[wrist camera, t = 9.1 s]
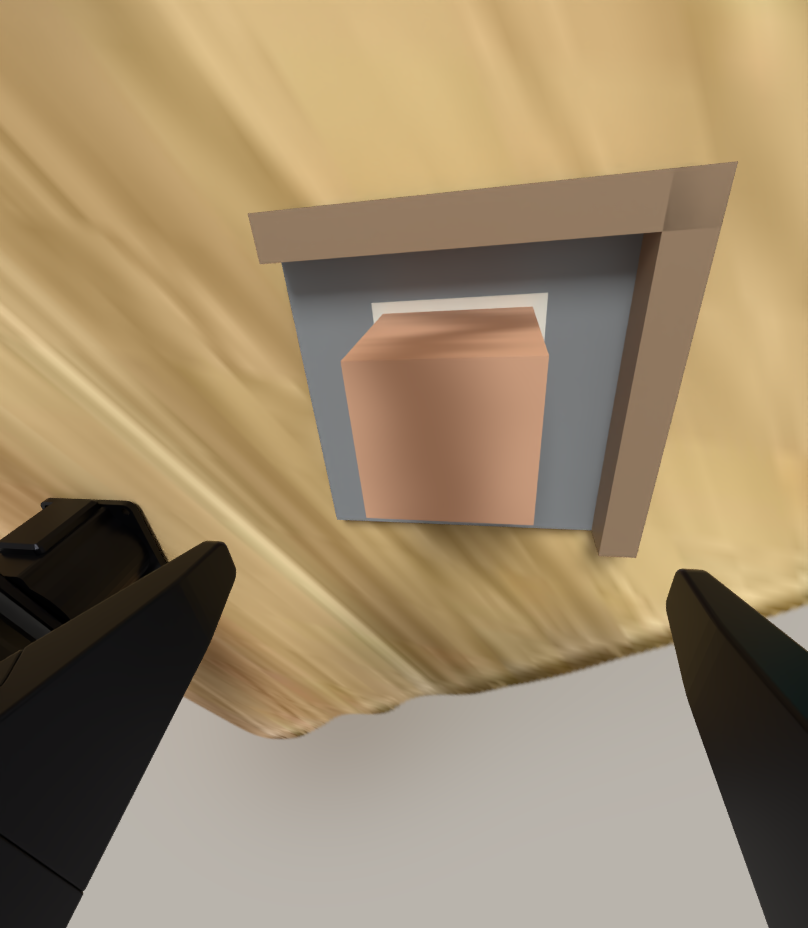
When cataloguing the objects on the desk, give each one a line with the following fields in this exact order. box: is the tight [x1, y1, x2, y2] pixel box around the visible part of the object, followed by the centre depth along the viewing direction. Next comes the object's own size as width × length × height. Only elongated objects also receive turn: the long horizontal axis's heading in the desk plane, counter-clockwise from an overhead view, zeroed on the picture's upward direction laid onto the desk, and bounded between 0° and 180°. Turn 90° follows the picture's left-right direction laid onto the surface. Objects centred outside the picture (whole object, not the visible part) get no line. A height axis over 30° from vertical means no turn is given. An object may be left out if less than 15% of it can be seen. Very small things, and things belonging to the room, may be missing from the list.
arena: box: [248, 161, 738, 558], centre depth 17 cm, size 14×14×2 cm
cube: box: [341, 307, 549, 525], centre depth 15 cm, size 6×6×6 cm
